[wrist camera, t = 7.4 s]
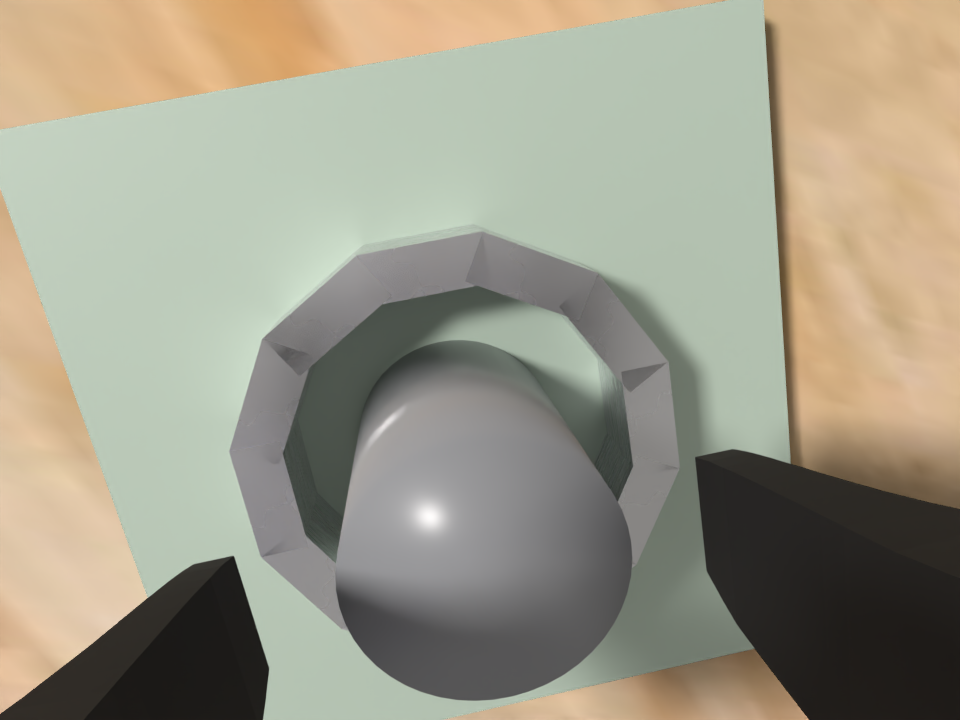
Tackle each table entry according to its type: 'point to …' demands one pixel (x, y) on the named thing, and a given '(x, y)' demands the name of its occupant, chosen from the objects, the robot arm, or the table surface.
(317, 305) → the duct collar
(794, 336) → the table surface
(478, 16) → the table surface
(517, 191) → the plate
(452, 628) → the grey rounded block
